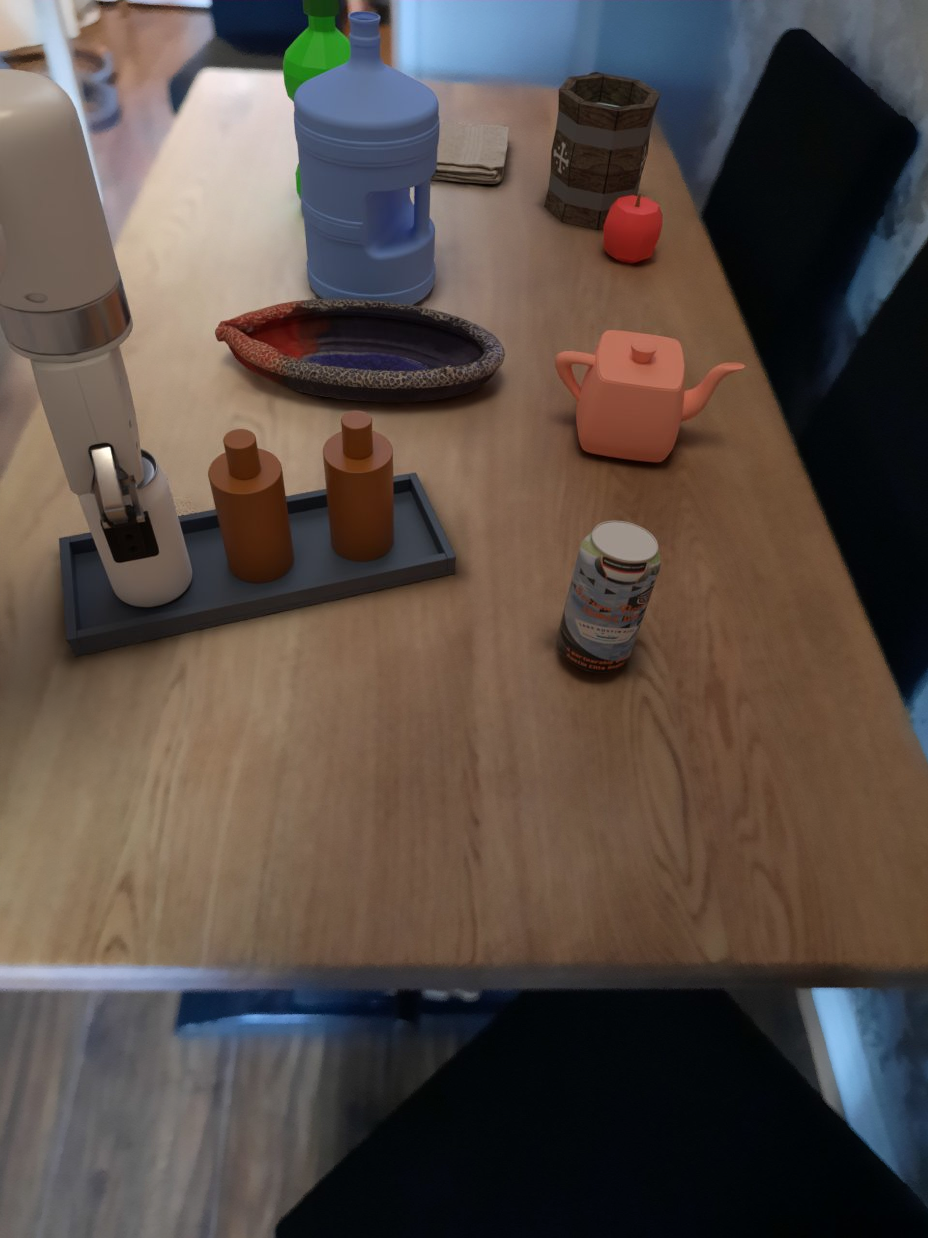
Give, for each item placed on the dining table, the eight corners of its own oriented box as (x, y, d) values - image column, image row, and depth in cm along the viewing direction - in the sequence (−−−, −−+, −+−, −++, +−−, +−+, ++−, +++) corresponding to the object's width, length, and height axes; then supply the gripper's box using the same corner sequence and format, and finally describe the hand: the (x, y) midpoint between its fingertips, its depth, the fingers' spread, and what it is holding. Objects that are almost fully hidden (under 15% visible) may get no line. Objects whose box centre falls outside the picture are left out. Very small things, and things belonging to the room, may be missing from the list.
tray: (74, 657, 67) (66, 640, 65) (66, 555, 74) (58, 537, 72) (455, 573, 75) (456, 556, 73) (415, 488, 82) (416, 471, 80)
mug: (645, 231, 119) (671, 113, 108) (549, 227, 118) (565, 108, 107) (621, 171, 132) (642, 59, 120) (534, 167, 131) (547, 55, 119)
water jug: (287, 300, 102) (256, 25, 81) (337, 242, 112) (322, -16, 91) (410, 327, 100) (412, 51, 79) (450, 266, 110) (462, 6, 88)
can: (171, 543, 74) (139, 431, 65) (207, 587, 71) (179, 476, 62) (100, 575, 72) (56, 463, 62) (135, 622, 69) (94, 512, 59)
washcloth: (422, 181, 125) (423, 159, 123) (434, 134, 137) (435, 113, 135) (503, 189, 125) (505, 167, 123) (508, 140, 137) (510, 119, 135)
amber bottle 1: (234, 589, 71) (207, 468, 62) (223, 544, 75) (195, 422, 65) (300, 575, 73) (284, 455, 63) (286, 531, 76) (269, 410, 66)
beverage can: (548, 674, 68) (571, 570, 59) (563, 607, 73) (586, 502, 64) (626, 692, 68) (661, 590, 58) (636, 623, 72) (670, 519, 63)
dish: (495, 428, 88) (500, 387, 85) (203, 396, 89) (194, 354, 85) (506, 346, 98) (511, 306, 95) (244, 318, 99) (237, 277, 95)
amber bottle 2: (339, 567, 74) (329, 447, 64) (324, 524, 77) (312, 403, 67) (401, 554, 75) (401, 435, 65) (384, 512, 78) (381, 392, 69)
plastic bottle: (362, 232, 114) (354, 10, 95) (285, 222, 115) (262, -1, 96) (378, 199, 121) (374, -14, 102) (306, 190, 122) (288, -24, 102)
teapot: (550, 389, 93) (564, 301, 85) (715, 412, 92) (744, 325, 84) (540, 455, 86) (554, 365, 78) (719, 481, 85) (752, 392, 77)
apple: (638, 276, 111) (651, 214, 105) (586, 255, 114) (596, 193, 108) (667, 254, 115) (682, 193, 109) (616, 234, 118) (628, 174, 112)
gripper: (-3, 248, 57) (73, 454, 70) (-1, 399, 46) (87, 608, 60) (115, 236, 59) (167, 439, 72) (142, 378, 48) (197, 585, 62)
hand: (131, 515), depth 66 cm, fingers open, 8 cm apart
